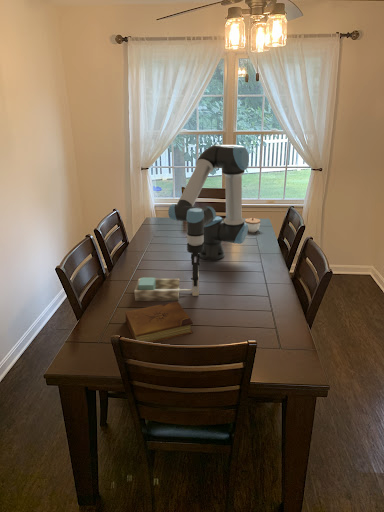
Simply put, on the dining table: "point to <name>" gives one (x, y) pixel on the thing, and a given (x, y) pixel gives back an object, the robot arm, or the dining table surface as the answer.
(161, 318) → the diary
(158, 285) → the lane
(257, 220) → the lidded jar
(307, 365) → the dining table surface
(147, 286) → the block sled
